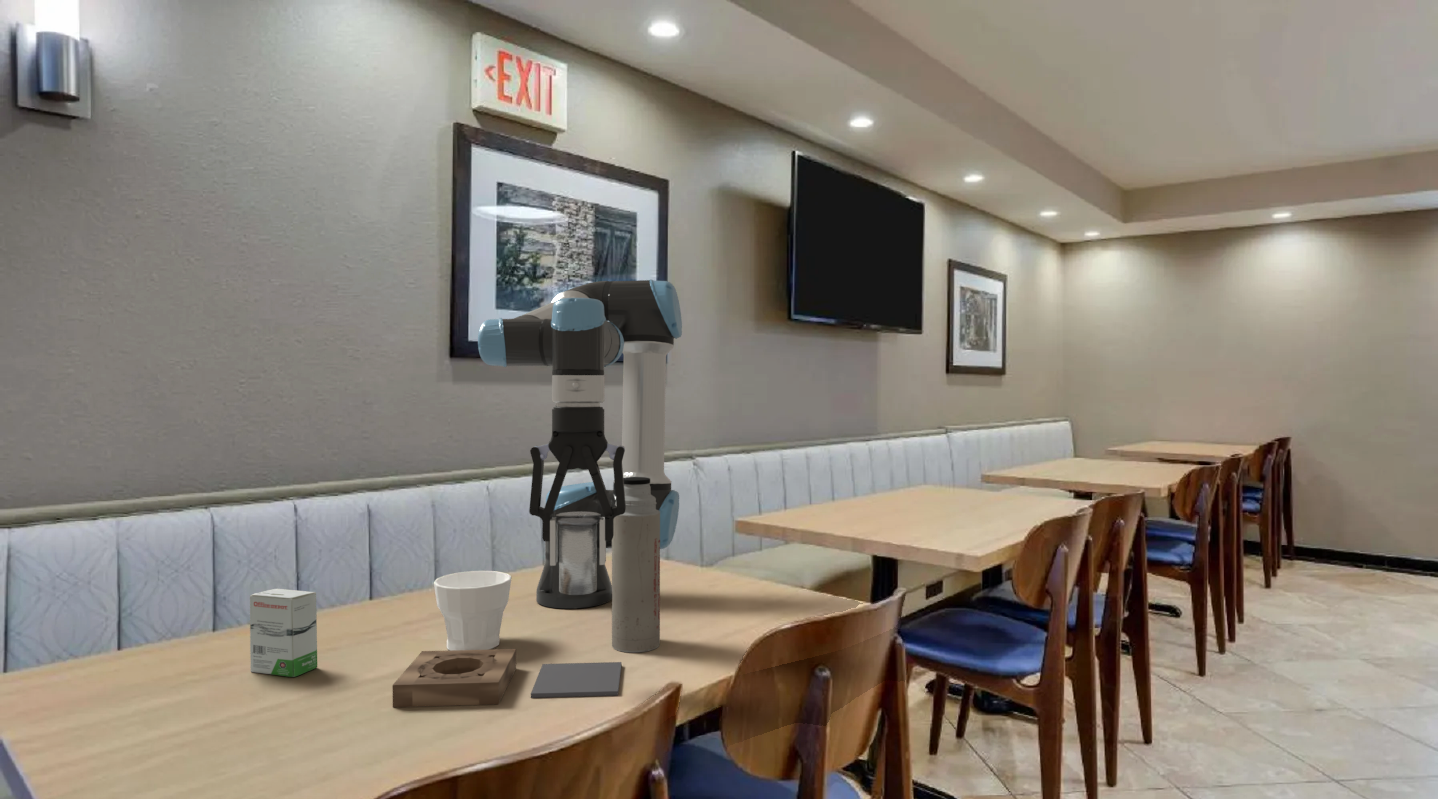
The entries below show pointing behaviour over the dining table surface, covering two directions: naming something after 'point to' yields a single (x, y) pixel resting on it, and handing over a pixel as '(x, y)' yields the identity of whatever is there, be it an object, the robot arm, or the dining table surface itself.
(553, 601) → the robot arm
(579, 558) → the glass jar
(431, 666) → the block
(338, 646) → the dining table surface
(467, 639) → the cup
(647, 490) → the thermos bottle
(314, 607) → the ink box
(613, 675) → the mat
